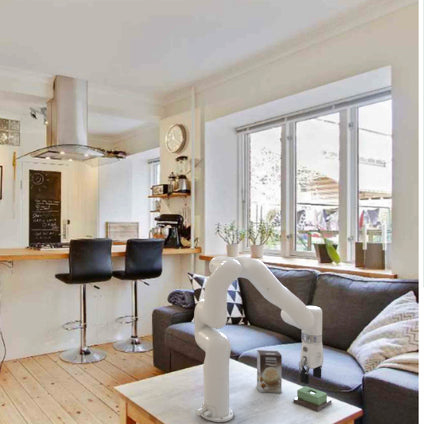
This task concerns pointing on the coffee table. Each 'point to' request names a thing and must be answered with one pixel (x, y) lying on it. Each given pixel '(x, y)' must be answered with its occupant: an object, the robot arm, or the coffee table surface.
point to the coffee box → (269, 371)
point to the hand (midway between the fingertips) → (310, 380)
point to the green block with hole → (312, 395)
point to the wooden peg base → (312, 405)
